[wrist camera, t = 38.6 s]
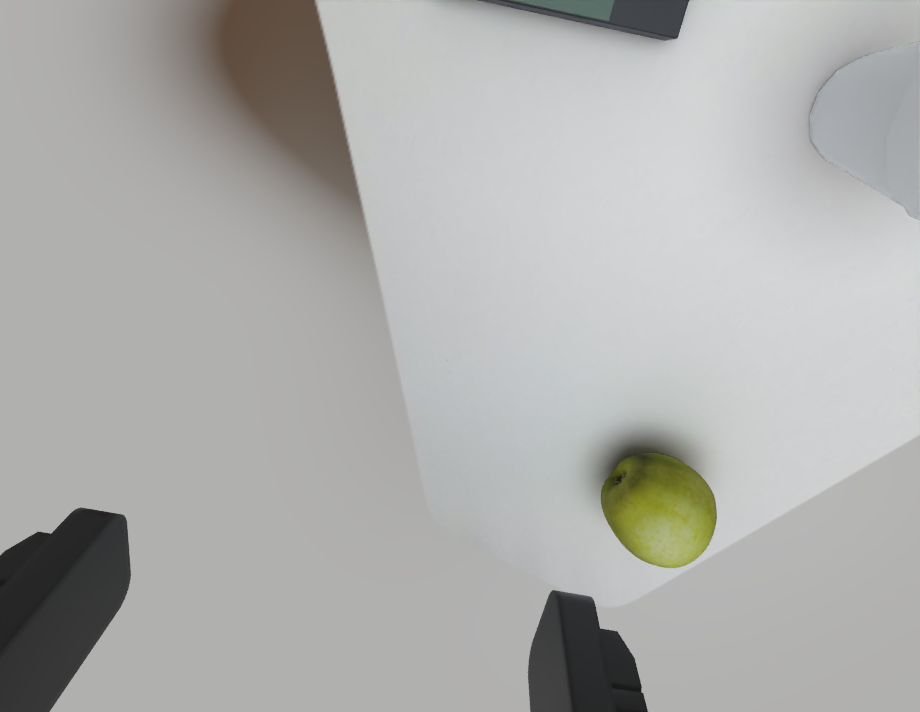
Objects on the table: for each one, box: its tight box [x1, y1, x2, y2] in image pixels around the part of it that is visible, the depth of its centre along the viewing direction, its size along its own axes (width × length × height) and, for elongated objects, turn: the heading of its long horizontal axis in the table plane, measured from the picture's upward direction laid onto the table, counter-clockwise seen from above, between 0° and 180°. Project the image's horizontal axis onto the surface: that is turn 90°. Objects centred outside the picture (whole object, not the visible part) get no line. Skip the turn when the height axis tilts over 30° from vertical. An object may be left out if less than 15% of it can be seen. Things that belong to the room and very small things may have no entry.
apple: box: [601, 453, 717, 568], centre depth 45 cm, size 8×9×8 cm
